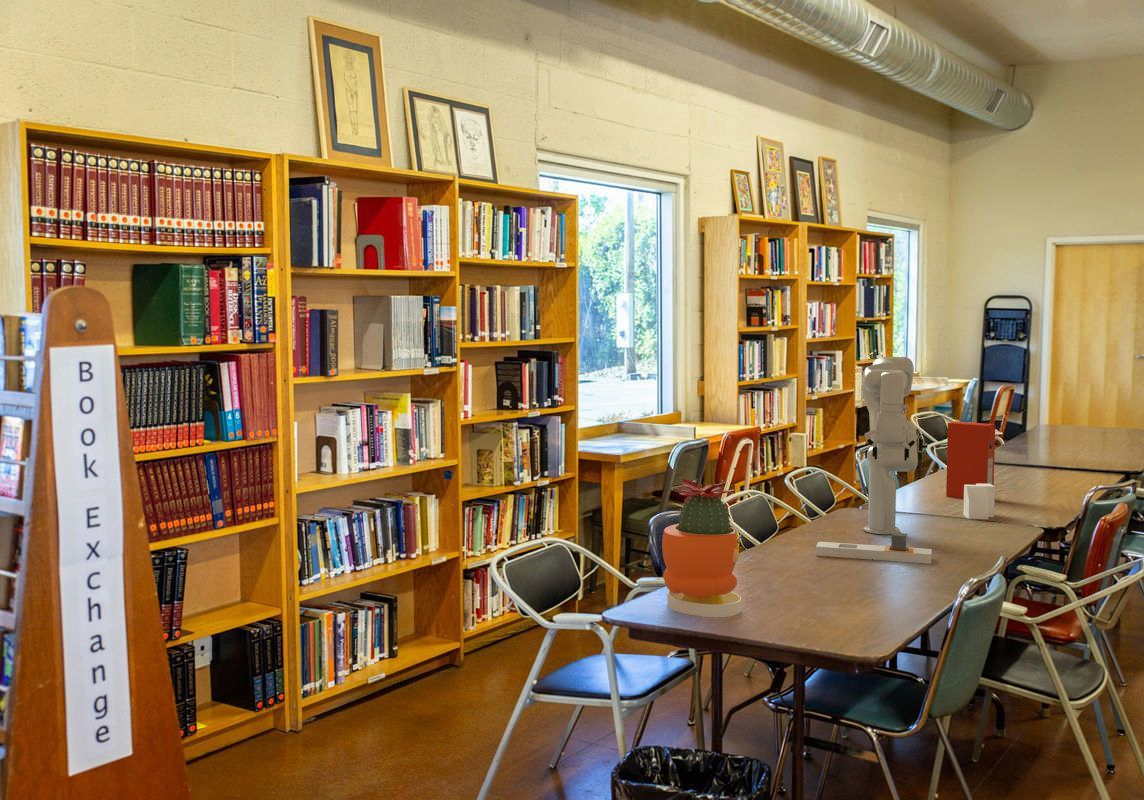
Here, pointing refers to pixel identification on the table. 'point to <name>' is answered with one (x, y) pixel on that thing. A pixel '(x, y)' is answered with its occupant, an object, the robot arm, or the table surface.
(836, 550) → the rail
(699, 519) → the potted cactus
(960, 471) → the file binder
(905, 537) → the steel block
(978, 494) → the white upright cube
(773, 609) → the table surface
